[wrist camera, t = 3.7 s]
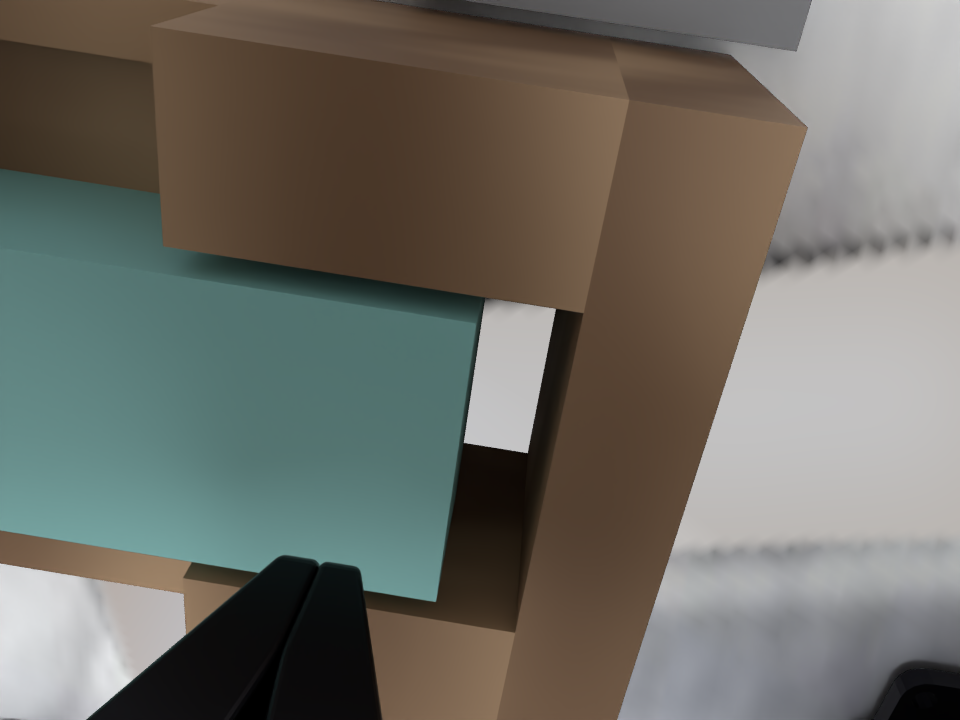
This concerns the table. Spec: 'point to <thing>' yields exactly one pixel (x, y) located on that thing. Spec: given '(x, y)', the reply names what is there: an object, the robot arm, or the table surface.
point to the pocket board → (450, 277)
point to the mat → (689, 17)
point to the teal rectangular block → (221, 396)
